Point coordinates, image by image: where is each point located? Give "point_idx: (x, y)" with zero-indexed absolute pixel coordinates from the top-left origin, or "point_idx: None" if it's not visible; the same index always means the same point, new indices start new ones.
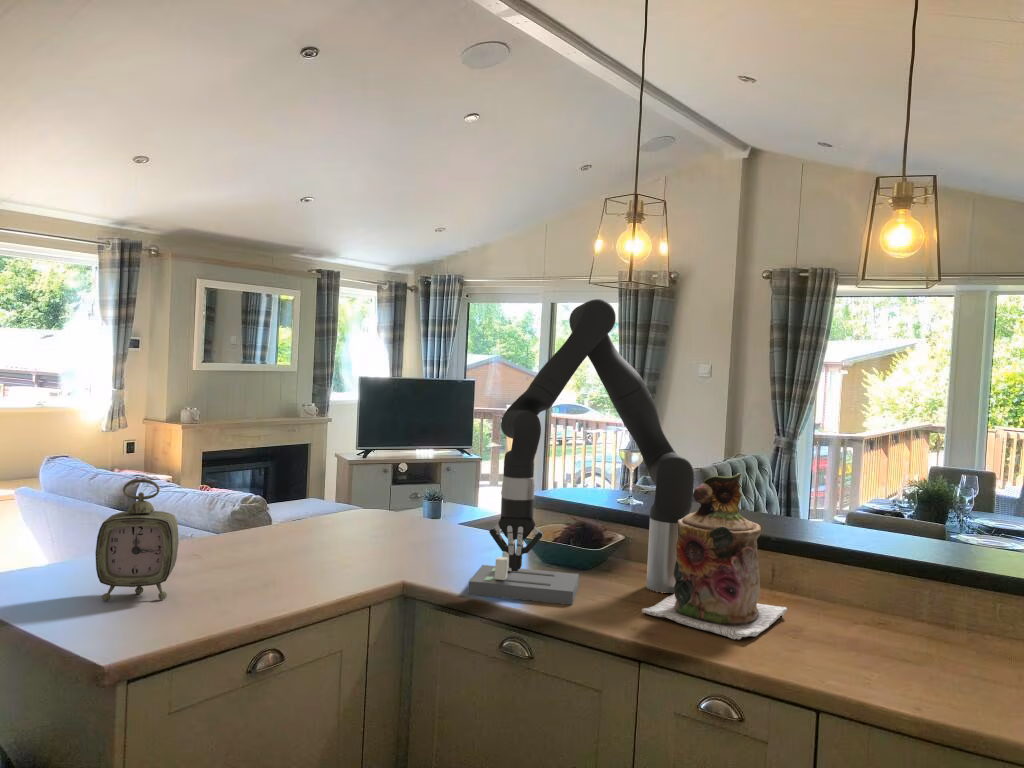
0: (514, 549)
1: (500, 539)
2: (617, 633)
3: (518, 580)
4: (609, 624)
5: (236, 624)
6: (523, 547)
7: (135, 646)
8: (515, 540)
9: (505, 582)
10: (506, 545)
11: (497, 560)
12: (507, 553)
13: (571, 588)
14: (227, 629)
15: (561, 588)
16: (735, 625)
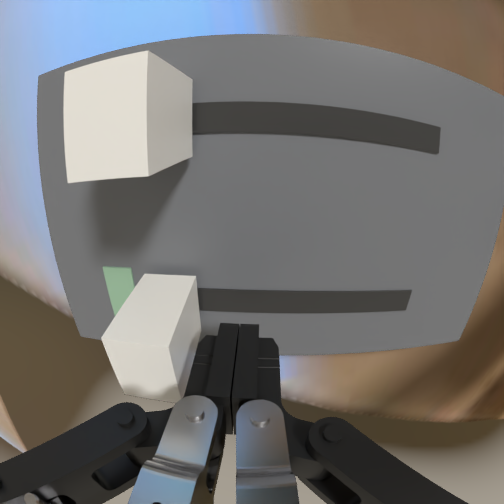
0: (215, 444)
1: (103, 498)
2: (454, 410)
3: (260, 282)
4: (463, 386)
5: (6, 420)
6: (293, 460)
7: (13, 441)
8: (196, 481)
9: (206, 325)
10: (143, 456)
11: (134, 393)
12: (110, 177)
13: (465, 312)
14: (12, 428)
15: (436, 326)
16: None
